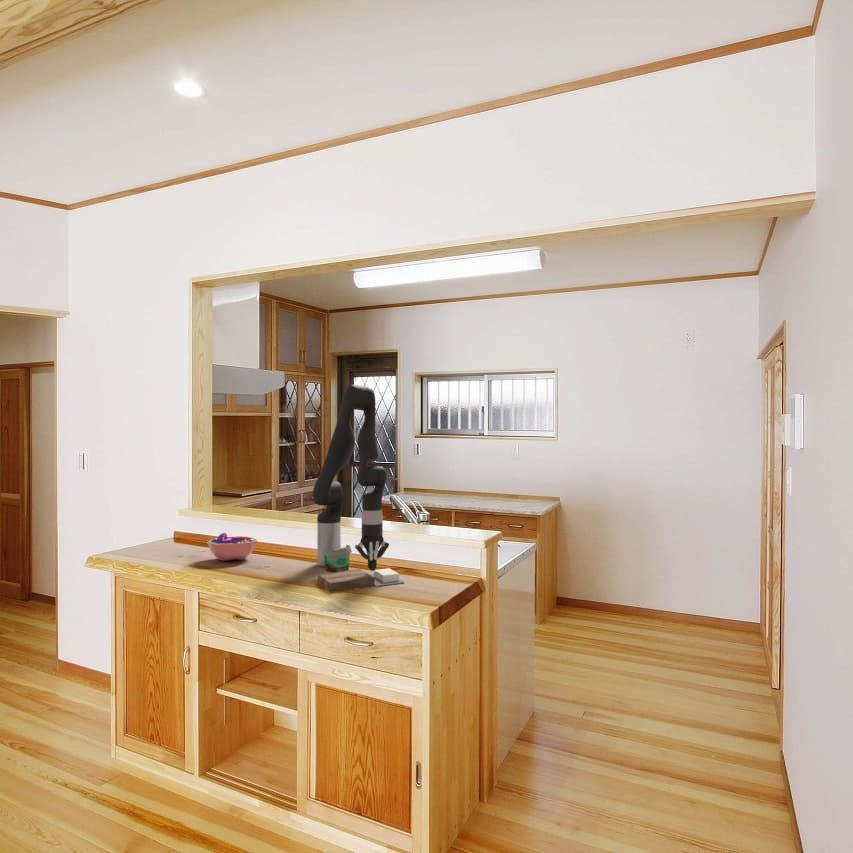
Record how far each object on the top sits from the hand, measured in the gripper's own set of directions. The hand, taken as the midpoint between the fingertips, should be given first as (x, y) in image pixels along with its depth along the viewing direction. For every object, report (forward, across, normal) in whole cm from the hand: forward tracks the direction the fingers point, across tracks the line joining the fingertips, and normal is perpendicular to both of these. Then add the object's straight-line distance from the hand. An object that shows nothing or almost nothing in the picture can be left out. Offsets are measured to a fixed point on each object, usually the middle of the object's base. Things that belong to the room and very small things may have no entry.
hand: (372, 569), depth 226 cm
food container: (+4, +7, -14) cm, 16 cm away
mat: (+4, -4, 0) cm, 5 cm away
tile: (+2, -5, +1) cm, 6 cm away
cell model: (+4, +39, -57) cm, 69 cm away
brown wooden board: (+4, +10, 0) cm, 11 cm away
